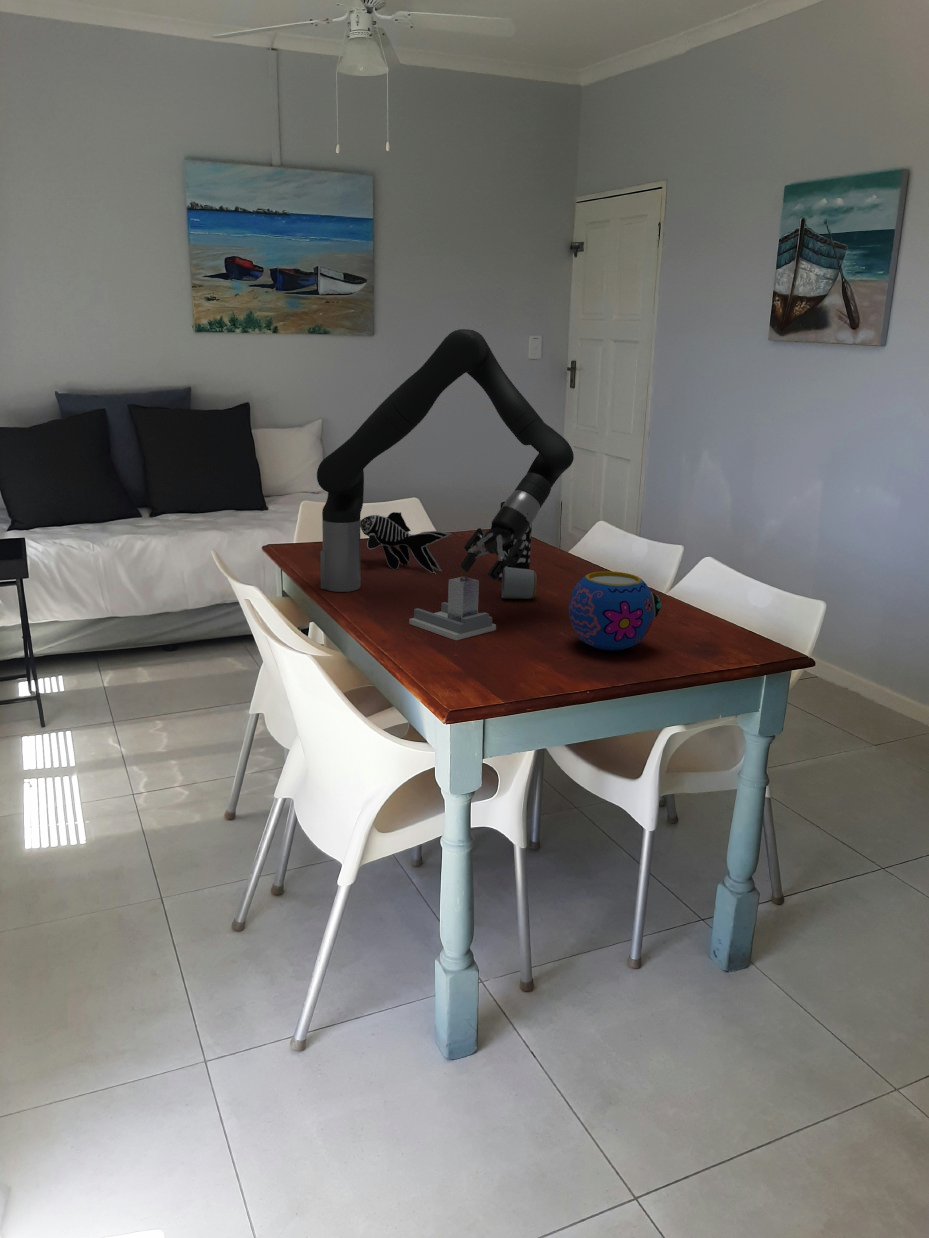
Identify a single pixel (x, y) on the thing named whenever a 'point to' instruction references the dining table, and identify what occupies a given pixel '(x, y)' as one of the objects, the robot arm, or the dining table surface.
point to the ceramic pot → (612, 610)
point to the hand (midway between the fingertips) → (477, 573)
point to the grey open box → (452, 623)
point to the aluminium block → (462, 597)
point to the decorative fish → (400, 540)
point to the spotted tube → (525, 557)
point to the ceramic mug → (518, 583)
